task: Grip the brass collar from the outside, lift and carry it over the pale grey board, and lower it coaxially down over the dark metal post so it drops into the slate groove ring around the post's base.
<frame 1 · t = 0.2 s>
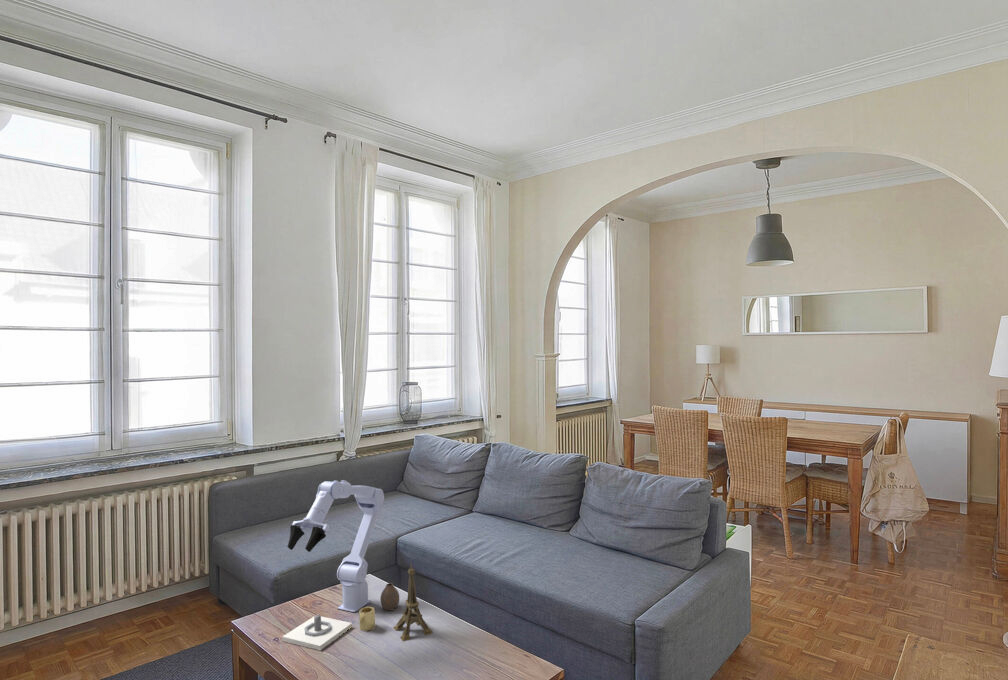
hand: (298, 549, 195), 31 cm above the table, tool tilted 45°, fingers open, 7 cm apart
vase: (390, 608, 219), on the table
post board: (318, 634, 201), on the table
eiffel tower: (413, 631, 202), on the table
collar: (367, 627, 205), on the table
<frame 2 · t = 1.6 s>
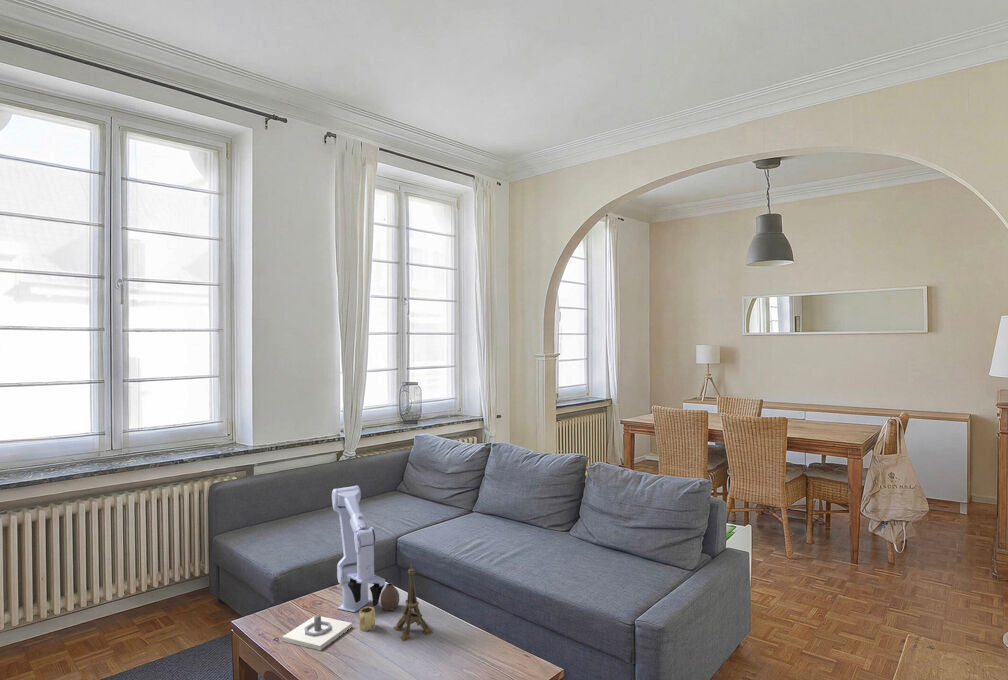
hand: (366, 603, 205), 8 cm above the table, tool pointing down, fingers open, 7 cm apart
nothing on the table moved.
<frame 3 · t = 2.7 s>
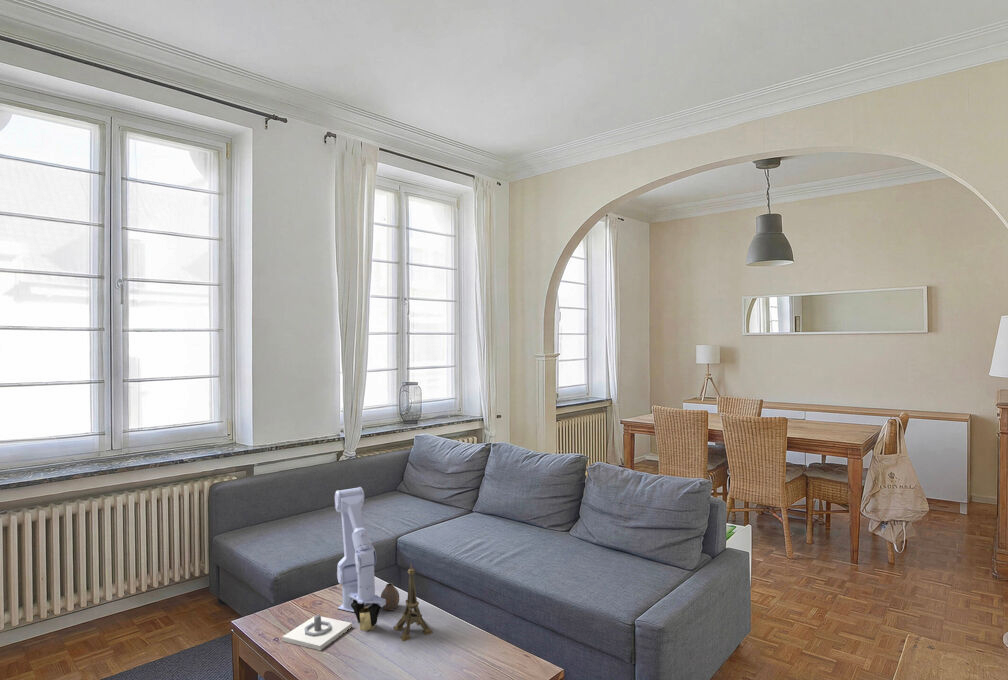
hand: (367, 623, 205), 1 cm above the table, tool pointing down, fingers closed on collar, 5 cm apart
collar: (367, 627, 205), on the table, touching gripper
everything else where it was.
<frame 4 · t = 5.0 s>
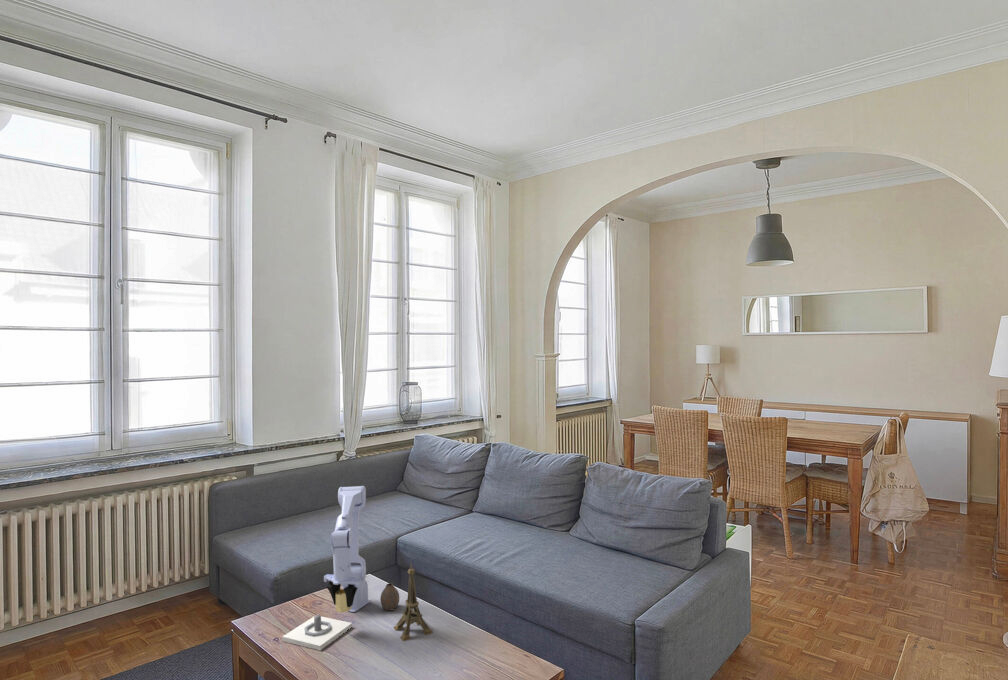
hand: (343, 604, 203), 9 cm above the table, tool pointing down, fingers closed on collar, 5 cm apart
collar: (343, 608, 203), point 8 cm above the table, touching gripper
everything else where it was.
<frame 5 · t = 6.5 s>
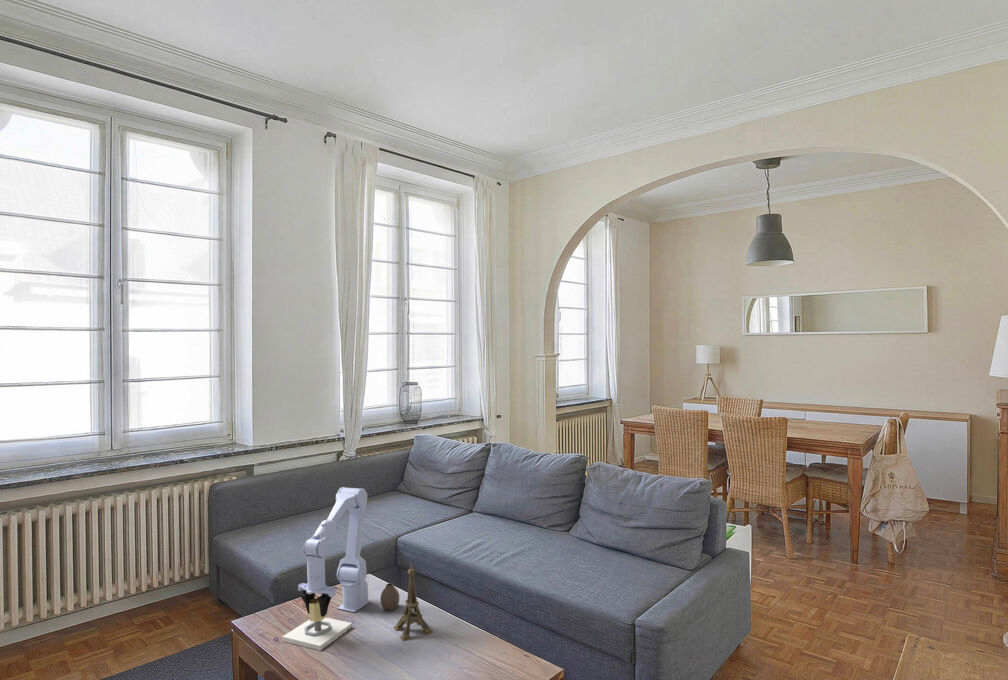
hand: (317, 614, 201), 7 cm above the table, tool pointing down, fingers closed on collar, 5 cm apart
collar: (317, 618, 201), point 5 cm above the table, touching gripper
everything else where it was.
when the fingers open (5 cm above the table, at t = 7.4 s): collar drops 2 cm, resting on post board.
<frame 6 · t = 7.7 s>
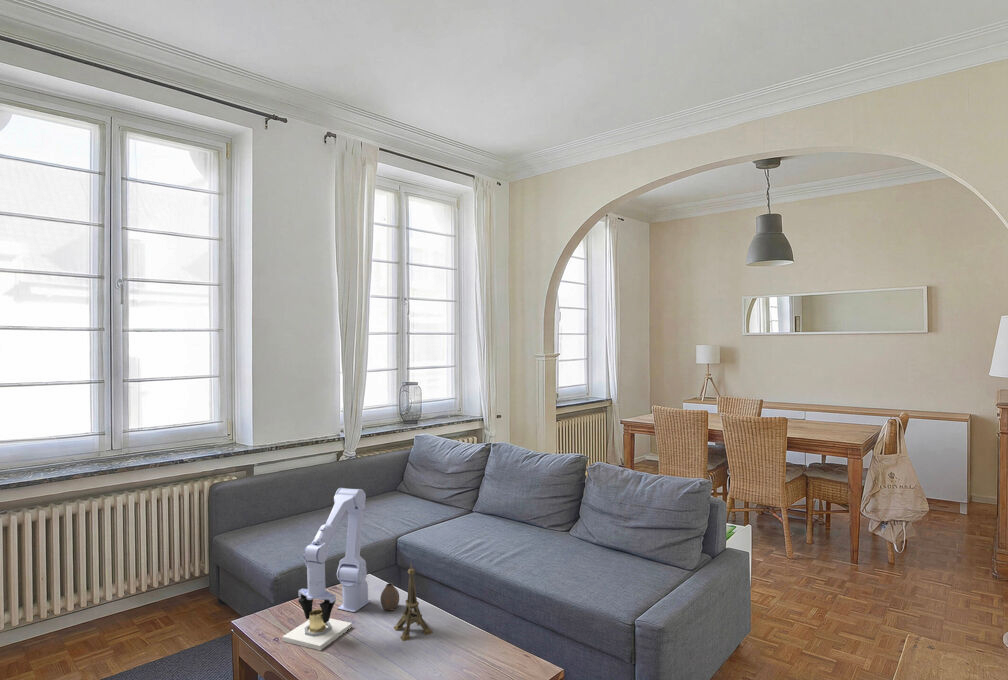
hand: (317, 619, 201), 5 cm above the table, tool pointing down, fingers open, 7 cm apart
collar: (317, 629, 201), point 1 cm above the table, touching post board
everything else where it was.
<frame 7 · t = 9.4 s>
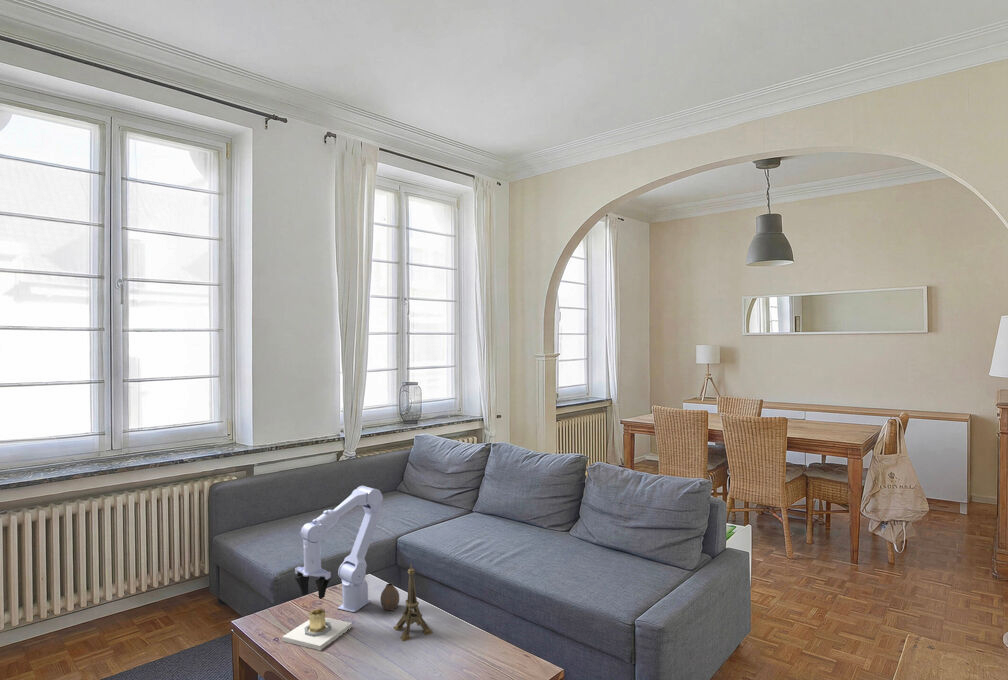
hand: (313, 596, 209), 9 cm above the table, tool pointing down, fingers open, 7 cm apart
nothing on the table moved.
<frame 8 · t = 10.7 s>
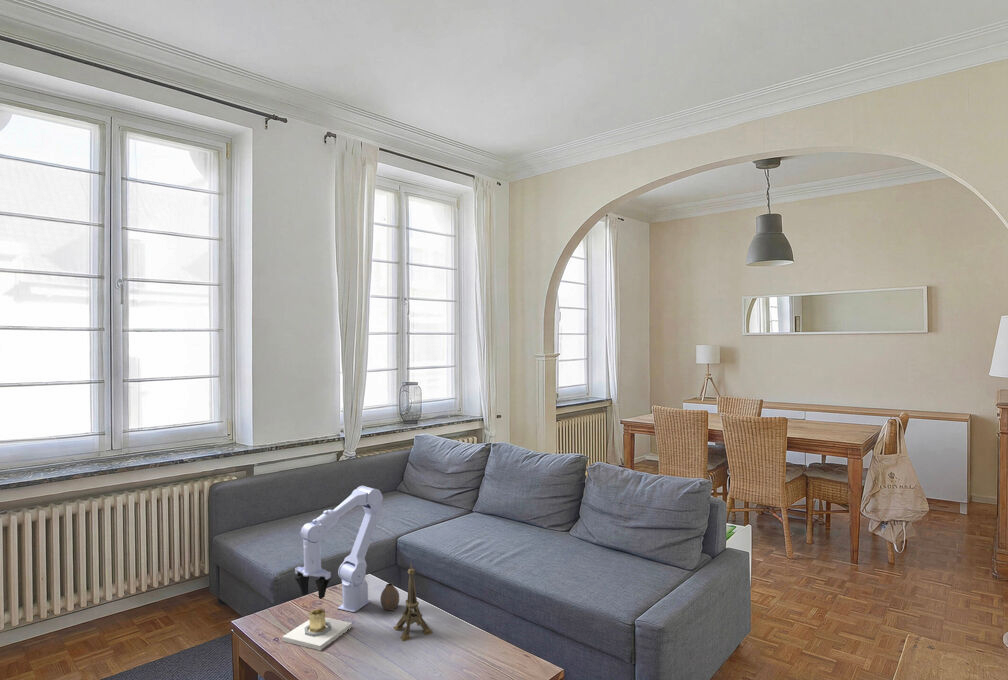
hand: (313, 596, 209), 9 cm above the table, tool pointing down, fingers open, 7 cm apart
nothing on the table moved.
at the end: collar 0.1 cm off-centre on the post board, point 1.5 cm above the post board's base; collar tilted 0°; the gripper is holding nothing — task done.
